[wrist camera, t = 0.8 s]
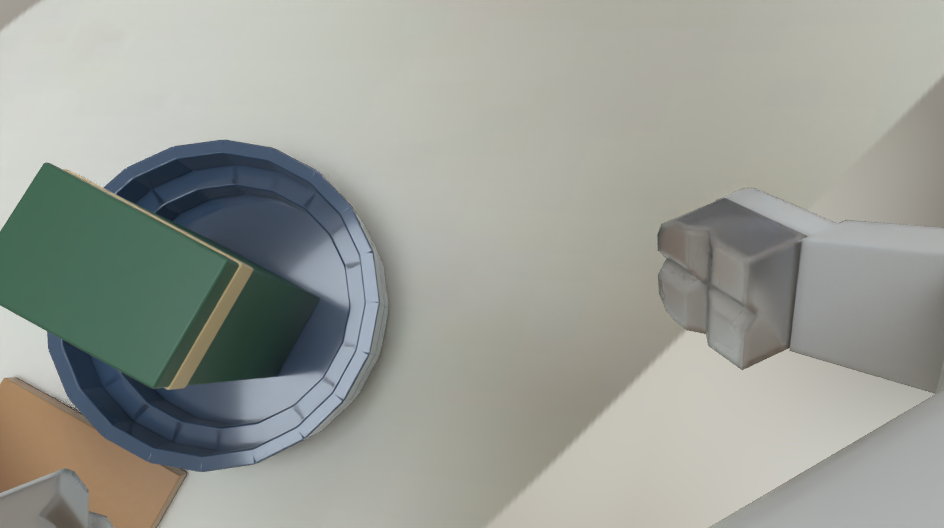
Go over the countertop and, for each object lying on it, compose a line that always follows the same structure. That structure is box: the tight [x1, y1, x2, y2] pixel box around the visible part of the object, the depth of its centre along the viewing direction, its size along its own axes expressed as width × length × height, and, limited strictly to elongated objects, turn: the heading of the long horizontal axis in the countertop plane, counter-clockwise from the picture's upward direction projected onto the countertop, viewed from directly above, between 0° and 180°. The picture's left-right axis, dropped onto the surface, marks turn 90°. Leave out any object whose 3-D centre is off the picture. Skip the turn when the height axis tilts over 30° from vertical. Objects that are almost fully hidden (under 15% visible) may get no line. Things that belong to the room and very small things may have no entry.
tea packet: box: [0, 163, 319, 390], centre depth 24 cm, size 4×6×12 cm
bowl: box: [47, 140, 389, 472], centre depth 29 cm, size 13×13×4 cm
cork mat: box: [0, 378, 187, 528], centre depth 29 cm, size 9×9×1 cm
